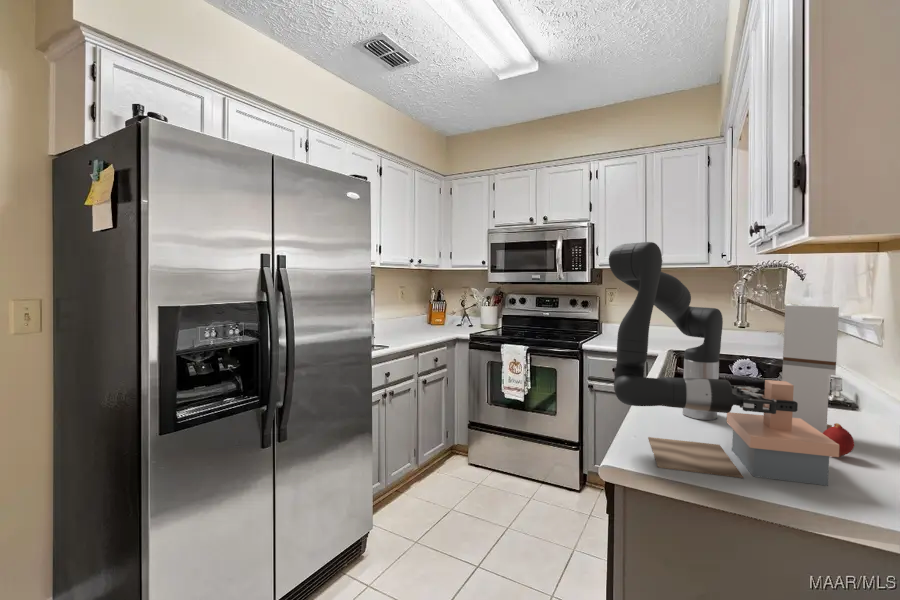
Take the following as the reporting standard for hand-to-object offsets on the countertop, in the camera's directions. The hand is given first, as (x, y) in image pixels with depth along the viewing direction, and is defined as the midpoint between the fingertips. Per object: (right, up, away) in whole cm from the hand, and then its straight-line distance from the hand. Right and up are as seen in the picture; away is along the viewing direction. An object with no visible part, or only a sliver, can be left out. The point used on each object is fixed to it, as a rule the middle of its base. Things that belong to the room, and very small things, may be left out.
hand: (788, 401), depth 96 cm
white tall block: (+22, -14, +22) cm, 34 cm away
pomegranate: (+17, -15, +7) cm, 23 cm away
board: (-18, -15, +7) cm, 24 cm away
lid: (-2, -8, +1) cm, 9 cm away
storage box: (-2, -15, +1) cm, 15 cm away
